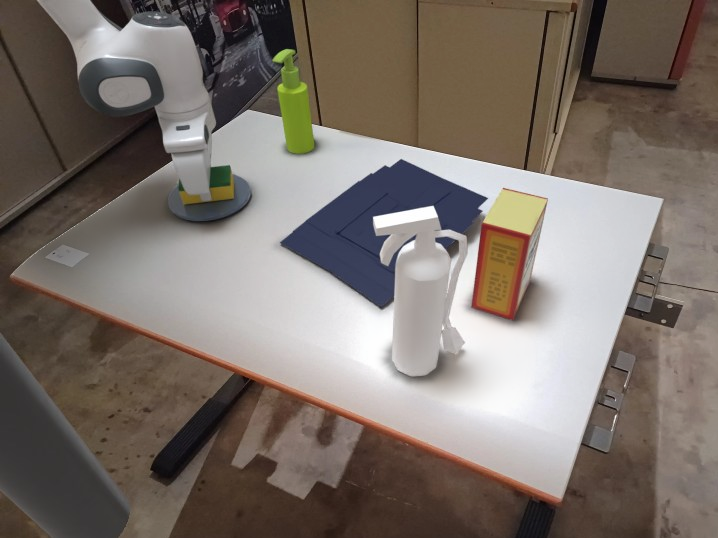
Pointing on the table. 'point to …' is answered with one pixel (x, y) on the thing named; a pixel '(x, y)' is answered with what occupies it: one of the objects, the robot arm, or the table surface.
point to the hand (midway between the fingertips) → (207, 188)
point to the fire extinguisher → (420, 288)
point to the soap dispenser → (294, 106)
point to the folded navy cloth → (356, 231)
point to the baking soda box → (507, 252)
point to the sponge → (213, 186)
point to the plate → (210, 204)
